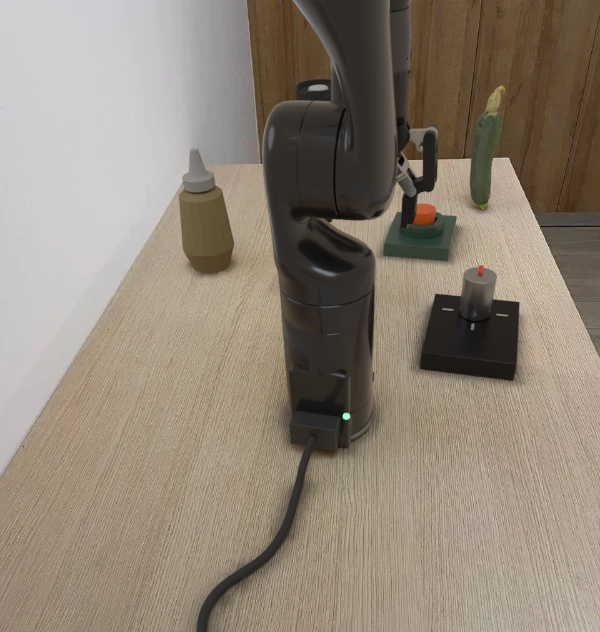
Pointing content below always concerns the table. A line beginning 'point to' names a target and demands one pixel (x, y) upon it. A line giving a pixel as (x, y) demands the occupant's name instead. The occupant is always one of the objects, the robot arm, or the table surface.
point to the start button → (425, 214)
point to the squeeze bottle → (204, 219)
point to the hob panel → (471, 340)
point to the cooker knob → (477, 293)
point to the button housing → (421, 239)
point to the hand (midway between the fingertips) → (367, 222)
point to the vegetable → (485, 149)
